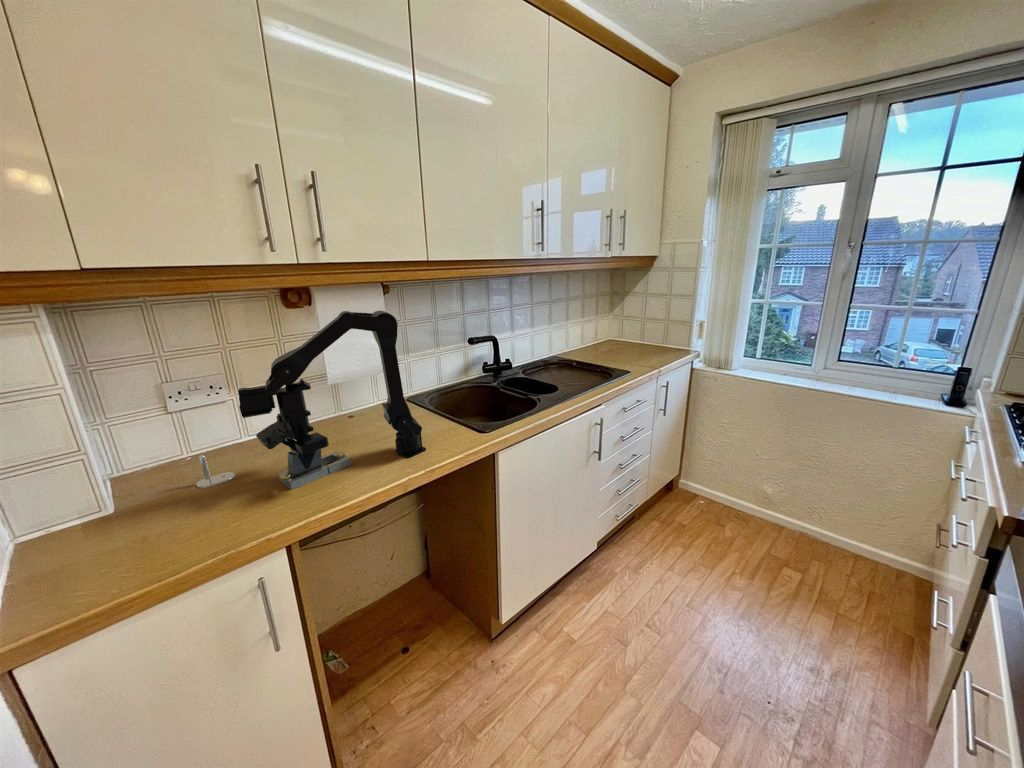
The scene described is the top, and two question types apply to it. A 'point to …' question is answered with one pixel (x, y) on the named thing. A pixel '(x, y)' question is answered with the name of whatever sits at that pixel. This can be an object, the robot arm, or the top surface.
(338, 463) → the end link
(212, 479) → the stand
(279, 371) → the robot arm
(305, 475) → the end link
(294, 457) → the block with brass studs
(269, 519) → the top surface
